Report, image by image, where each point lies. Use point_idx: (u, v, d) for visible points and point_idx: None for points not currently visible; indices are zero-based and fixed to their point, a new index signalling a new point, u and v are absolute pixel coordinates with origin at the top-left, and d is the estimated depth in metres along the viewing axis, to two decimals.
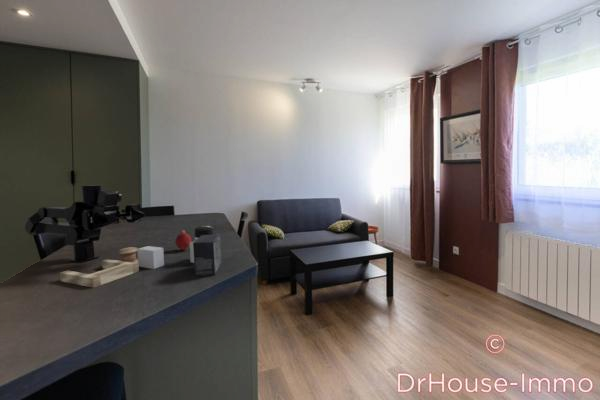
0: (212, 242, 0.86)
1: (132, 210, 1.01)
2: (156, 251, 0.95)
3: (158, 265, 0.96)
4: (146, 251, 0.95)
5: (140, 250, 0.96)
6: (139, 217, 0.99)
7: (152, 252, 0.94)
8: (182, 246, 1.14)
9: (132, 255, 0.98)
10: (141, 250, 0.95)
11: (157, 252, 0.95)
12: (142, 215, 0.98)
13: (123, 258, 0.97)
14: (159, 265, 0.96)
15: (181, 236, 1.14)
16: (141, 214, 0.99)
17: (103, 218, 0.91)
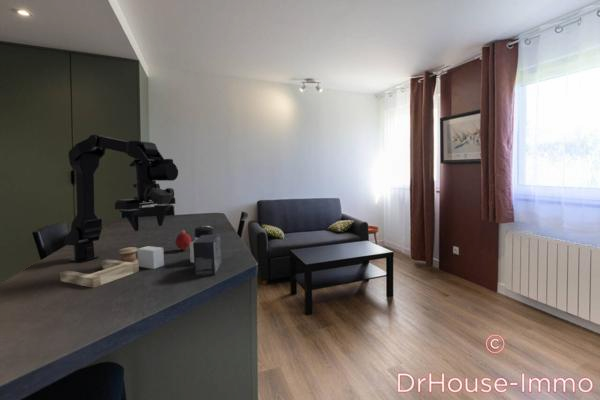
0: (212, 242, 0.86)
1: (163, 208, 1.00)
2: (156, 251, 0.95)
3: (158, 265, 0.96)
4: (146, 251, 0.95)
5: (140, 250, 0.96)
6: (157, 219, 1.00)
7: (152, 252, 0.94)
8: (182, 246, 1.14)
9: (132, 255, 0.98)
10: (141, 250, 0.95)
11: (157, 252, 0.95)
12: (159, 223, 1.00)
13: (123, 258, 0.97)
14: (159, 265, 0.96)
15: (181, 236, 1.14)
16: (160, 222, 1.00)
17: (132, 215, 0.90)
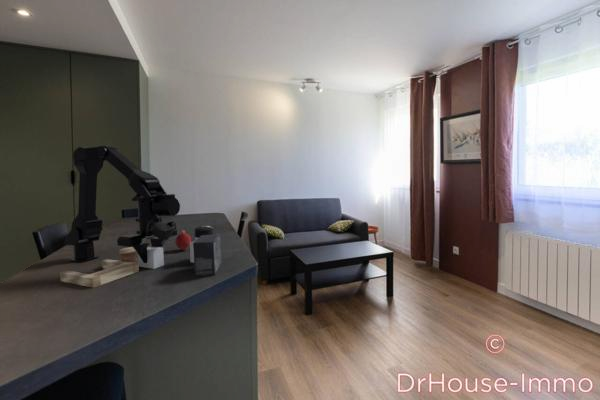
0: (212, 242, 0.86)
1: (159, 241, 0.98)
2: (156, 251, 0.95)
3: (158, 265, 0.96)
4: None
5: None
6: None
7: (152, 252, 0.94)
8: (182, 246, 1.14)
9: (132, 255, 0.98)
10: None
11: (157, 252, 0.95)
12: None
13: (123, 258, 0.97)
14: (159, 265, 0.96)
15: (181, 236, 1.14)
16: None
17: (141, 248, 0.93)
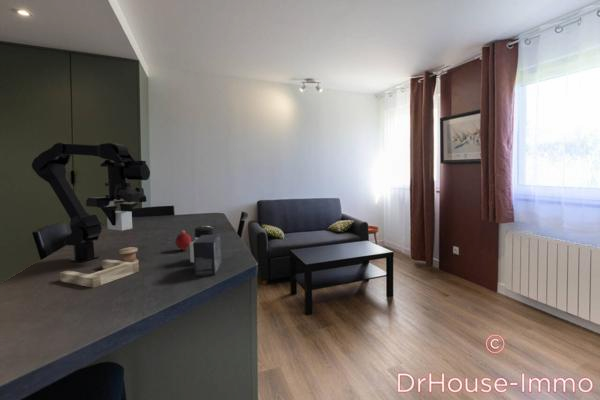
0: (212, 242, 0.86)
1: (128, 206, 1.04)
2: (124, 214, 1.01)
3: (126, 227, 1.02)
4: (115, 214, 1.01)
5: None
6: None
7: (120, 214, 1.00)
8: (182, 246, 1.14)
9: (132, 255, 0.98)
10: None
11: (125, 215, 1.01)
12: None
13: (123, 258, 0.97)
14: (127, 227, 1.02)
15: (181, 236, 1.14)
16: None
17: None
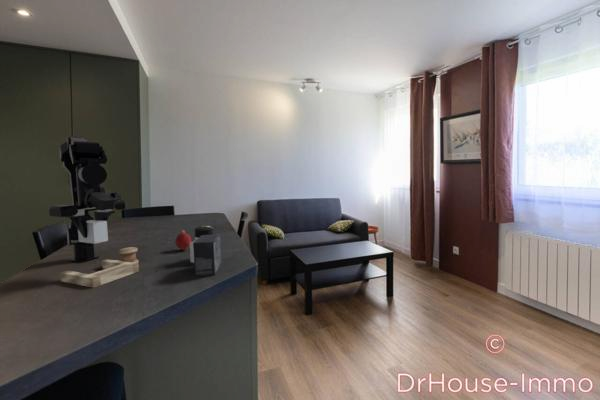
0: (212, 242, 0.86)
1: (103, 215, 0.89)
2: (97, 224, 0.85)
3: (100, 240, 0.86)
4: None
5: None
6: None
7: (92, 225, 0.84)
8: (182, 246, 1.14)
9: (132, 255, 0.98)
10: None
11: (99, 225, 0.86)
12: None
13: (123, 258, 0.97)
14: (101, 240, 0.86)
15: (181, 236, 1.14)
16: None
17: None
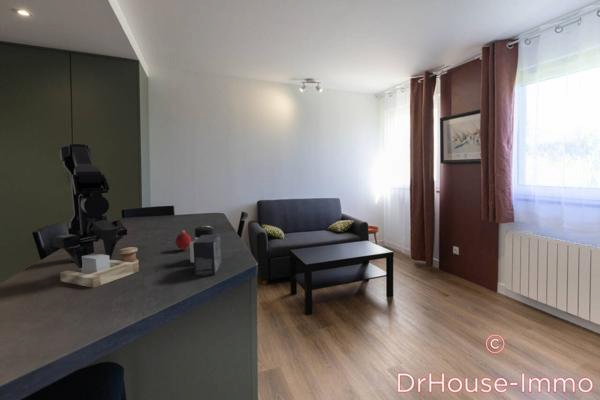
0: (212, 242, 0.86)
1: (111, 241, 0.92)
2: (100, 259, 0.86)
3: None
4: (89, 259, 0.86)
5: (83, 258, 0.87)
6: (106, 252, 0.92)
7: (95, 260, 0.85)
8: (182, 246, 1.14)
9: (132, 255, 0.98)
10: (84, 258, 0.87)
11: (101, 260, 0.87)
12: None
13: (123, 258, 0.97)
14: None
15: (181, 236, 1.14)
16: None
17: (75, 251, 0.83)
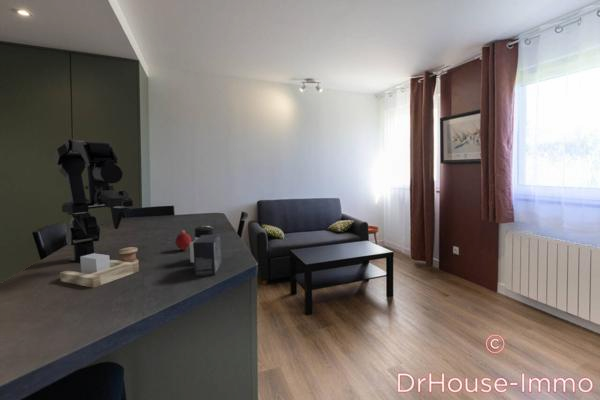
0: (212, 242, 0.86)
1: (119, 211, 0.96)
2: (100, 259, 0.86)
3: None
4: (89, 259, 0.86)
5: (83, 258, 0.87)
6: (113, 221, 0.97)
7: (95, 260, 0.85)
8: (182, 246, 1.14)
9: (132, 255, 0.98)
10: (84, 258, 0.87)
11: (101, 260, 0.87)
12: (115, 226, 0.97)
13: (123, 258, 0.97)
14: None
15: (181, 236, 1.14)
16: (116, 225, 0.97)
17: None
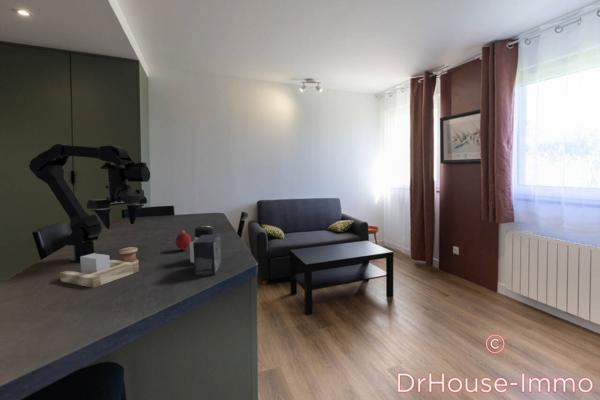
0: (212, 242, 0.86)
1: (134, 207, 1.07)
2: (100, 259, 0.86)
3: None
4: (89, 259, 0.86)
5: (83, 258, 0.87)
6: (130, 217, 1.08)
7: (95, 260, 0.85)
8: (182, 246, 1.14)
9: (132, 255, 0.98)
10: (84, 258, 0.87)
11: (101, 260, 0.87)
12: (131, 222, 1.08)
13: (123, 258, 0.97)
14: None
15: (181, 236, 1.14)
16: (132, 221, 1.08)
17: (104, 214, 0.98)
